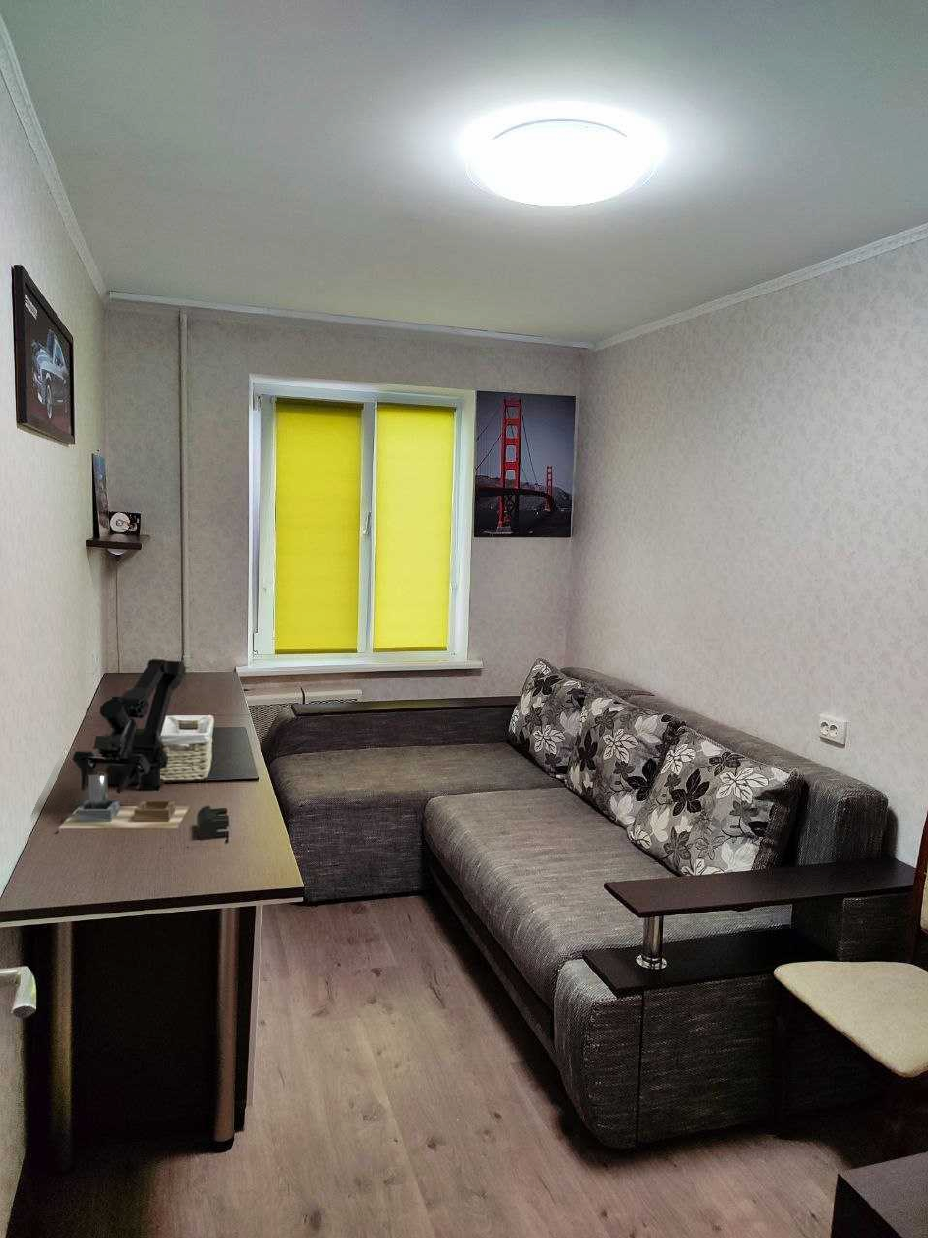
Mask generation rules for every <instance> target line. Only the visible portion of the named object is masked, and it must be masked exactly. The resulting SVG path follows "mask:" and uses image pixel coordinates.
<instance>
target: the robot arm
mask: <svg viewBox="0 0 928 1238" xmlns="http://www.w3.org/2000/svg"><path fill="white" fill-rule="evenodd" d="M146 665H147V666H146V668H145V669H144V670H143V673H142V674H141V675H140V677H139V679H138V680H137V682H136V683H135V685H134V686H133V688H132V689H129V690H127V691H125V692H124V693H123V694H121V696H112V697H111V699H110V700H107V701H105V702H104V703H102V705H101V706H100V707H99V714H100V715H101V718H102V719H103V720H104V721H105V723H106V725H107V726H108V727H109V728H110V729H111V731H110V734H109V735H106V736H104V735H103V736H102V735H101V736H100V735H95V738H94V743H93V749H94V750H98V751H97V752H98V753H99V755H101V756H95V755H94V753H92V751H91V750H77V751H75V752H74V753H73V756H72V761H73V762H74V763H75V765H76V766H77V767H78V769H80V770H81V771H80V772H81V790H82V791H83V792H85V791H86V790H87V788H89V774H90V773H94V772H96V771H95V768H96V767H97V766H98V765H102V766H103V765H104V766H115V767H116V766H119V767H120V766H121V767H124V769H123V774H122V776H121V778H120V781H119V783H118V785H117V788H116V793H117V794H121V793H122V792H123V791H124V790H125V789H126V788H127V787H128V786H129V785H130V784H131V783H132V782H133V781H134V780H136V779H137V778H138V785H137V786H136V787H135V790H136V791H160V789H161V788H162V787H163V785H164V784H165V782H164V781H161V780H160V769H161V768H165V767H167V762H168V757H167V755H166V754H165V752H164V750H163V747H164V745H163V742H162V739H161V737H160V736H161V732H162V728H163V725H164V721H165V718H166V716H167V714H168V709H169V707H170V704H171V703H170V702H171V698H172V695H173V693H174V691H175V690H176V689H177V688H178V687H179V686H180V685H181V684H182V680H183V678H184V676H185V675H186V669H187V668H186V666H185V665H184V664H183V662H182V661H181V660H166V659H160V658H152V659H149V660H148V662H147V664H146ZM152 693H154V694H152ZM152 695H153V696H152ZM151 696H152V700H151V703H150V702H149V699H150V697H151ZM147 713H148V715H147ZM146 715H147V718H146V721H145V725H144V728H143V731H142V732H141V733H139V731H140V730H139V726H138V722H137V721H136V720H135V719H144V717H146ZM132 741H133V742H132ZM128 752H129V754H128ZM127 755H128V756H127ZM126 757H127V758H126Z"/></svg>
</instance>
